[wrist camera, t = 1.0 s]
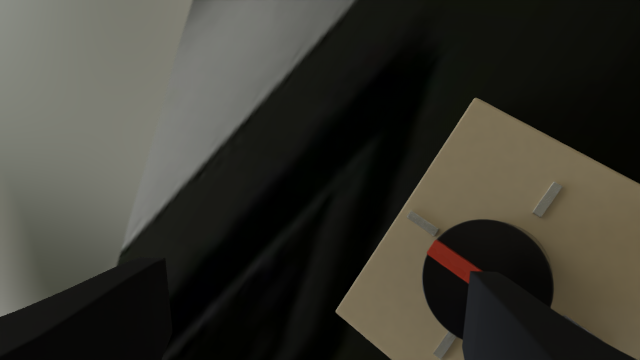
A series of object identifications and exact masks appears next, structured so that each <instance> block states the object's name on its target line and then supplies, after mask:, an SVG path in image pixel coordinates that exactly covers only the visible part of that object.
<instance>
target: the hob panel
mask: <svg viewBox="0 0 640 360" xmlns="http://www.w3.org/2000/svg"><path fill="white" fill-rule="evenodd" d="M476 219H490V220H497V221H502V222H506V223H510V224H513V225H516V226H518V227H520V228H522V229H524V230H526V231H527V232H529V233H530V234H532V235H533V236H534V237H535V238H536V239H537V240H538V241H539V242H540V244H541V245H542V246H543V248H544V249H545V251H546V253H547V255H548V257H549V259H550V262H551V266H552V271H553V280H554V294H553V301H552V305H551V309H553V310H554V311H556V312H557V313H559V314H560V315H562V316H563V317H565V318H566V319H568V320H569V321H571V322H573V323H574V324H576V325H577V326H579V327H580V328H582V329H584V330H585V331H587V332H589V333H590V334H592V335H594V336H595V337H597V338H599V339H600V340H602V341H604V342H605V343H607V344H609V345H611V346H612V347H614V348H616V349H618V350H620V351H622V352H624V353H626V354H627V355H629V356H631V357H633V358H635V359H637V360H640V184H639V183H637V182H635V181H633V180H631V179H629V178H627V177H625V176H623V175H622V174H620V173H618V172H616V171H614V170H612V169H610V168H608V167H606V166H605V165H603V164H601V163H599V162H597V161H595V160H593V159H591V158H589V157H588V156H586V155H584V154H582V153H580V152H578V151H576V150H574V149H572V148H571V147H569V146H567V145H565V144H563V143H561V142H559V141H557V140H555V139H554V138H552V137H550V136H548V135H546V134H544V133H542V132H540V131H538V130H537V129H535V128H533V127H531V126H529V125H527V124H525V123H523V122H521V121H520V120H518V119H516V118H514V117H512V116H510V115H508V114H506V113H504V112H503V111H501V110H499V109H497V108H495V107H493V106H491V105H489V104H487V103H486V102H484V101H482V100H480V99H478V98H475V99H474V100H473V101H472V103H471V104H470V106H469V107H468V109H467V110H466V112H465V113H464V115H463V116H462V118H461V120H460V121H459V123H458V124H457V126H456V127H455V129H454V130H453V132H452V133H451V135H450V136H449V138H448V139H447V141H446V143H445V144H444V146H443V147H442V149H441V150H440V152H439V153H438V155H437V156H436V158H435V159H434V161H433V162H432V164H431V166H430V167H429V169H428V170H427V172H426V173H425V175H424V176H423V178H422V179H421V181H420V182H419V184H418V185H417V187H416V189H415V190H414V192H413V193H412V195H411V196H410V198H409V199H408V201H407V202H406V204H405V205H404V207H403V208H402V210H401V212H400V213H399V215H398V216H397V218H396V219H395V221H394V222H393V224H392V225H391V227H390V228H389V230H388V231H387V233H386V235H385V236H384V238H383V239H382V241H381V242H380V244H379V245H378V247H377V248H376V250H375V251H374V253H373V254H372V256H371V258H370V259H369V261H368V262H367V264H366V265H365V267H364V268H363V270H362V271H361V273H360V274H359V276H358V278H357V279H356V281H355V282H354V284H353V285H352V287H351V288H350V290H349V291H348V293H347V294H346V296H345V297H344V299H343V301H342V302H341V304H340V305H339V307H338V308H337V310H336V313H337V314H339V315H340V316H341V317H342V318H343V319H344V320H346V321H347V322H348V323H349V324H350V325H352V326H353V327H354V328H355V329H356V330H357V331H359V332H360V333H361V334H362V335H363V336H365V337H366V338H367V339H368V340H369V341H370V342H372V343H373V344H374V345H375V346H376V347H378V348H379V349H380V350H381V351H382V352H383V353H385V354H386V355H387V356H388V357H389V358H391V359H392V360H464V355H463V350H462V342H463V340H462V339H460V338H458V337H456V336H455V335H453V334H452V333H450V332H449V331H448V330H446V329H445V328H444V327H443V326H442V325H441V324H440V323H439V322H438V320H437V319H436V318H435V316H434V315H433V314H432V312H431V310H430V308H429V306H428V304H427V302H426V299H425V296H424V292H423V286H422V270H423V265H424V261H425V258H426V255H427V251H428V249H429V248H430V247H431V245H432V244H433V242H434V241H435V240H436V239H437V238H438V237H439V236H440V235H441V234H442V233H444V232H445V231H446V230H448V229H449V228H451V227H453V226H455V225H457V224H459V223H462V222H465V221H469V220H476Z"/></svg>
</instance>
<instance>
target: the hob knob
mask: <svg viewBox="0 0 640 360" xmlns="http://www.w3.org/2000/svg"><path fill="white" fill-rule="evenodd" d="M470 271H485V272H498V273H500V274H502V275H504V276H505V277H507V278H508V279H510V280H511V281H513V282H514V283H516V284H517V285H519V286H520V287H521V288H523V289H524V290H526V291H527V292H529V293H530V294H531V295H533V296H534V297H536V298H537V299H538V300H540V301H541V302H543V303H544V304H546V305H547V306H549V307H550V308H551V305H552V301H553V294H554V280H553V271H552V266H551V262H550V259H549V257H548V255H547V253H546V251H545V249H544V248H543V246H542V245H541V244H540V242H539V241H538V240H537V239H536V238H535V237H534V236H533V235H532V234H530V233H529V232H527V231H526V230H524V229H522V228H520V227H518V226H516V225H513V224H510V223H506V222H502V221H497V220H490V219H476V220H469V221H465V222H462V223H459V224H457V225H455V226H453V227H451V228H449V229H448V230H446V231H445V232H444V233H442V234H441V235H440V236H439V237H438V238H437V239H436V240H435V241H434V242H433V244H432V245H431V247H430V248H429V249H428V251H427V255H426V258H425V261H424V265H423V270H422V286H423V292H424V296H425V299H426V302H427V304H428V306H429V308H430V310H431V312H432V314H433V315H434V316H435V318H436V319H437V320H438V322H439V323H440V324H441V325H442V326H443V327H444V328H445V329H446V330H448V331H449V332H450V333H452V334H453V335H455V336H456V337H458V338H460V339H462V340H463V333H464V323H465V314H466V305H467V296H468V287H469V277H470Z"/></svg>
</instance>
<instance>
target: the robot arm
mask: <svg viewBox="0 0 640 360" xmlns="http://www.w3.org/2000/svg"><path fill="white" fill-rule="evenodd" d="M171 334H172V322H171V312H170V302H169V292H168V282H167V272H166V261H165V258H144V257H140V258H137V259H134V260H131V261H128V262H126V263H124V264H121V265H119V266H117V267H114V268H112V269H110V270H108V271H106V272H103V273H102V274H99V275H97V276H95V277H93V278H90V279H88V280H86V281H84V282H82V283H80V284H78V285H75V286H73V287H71V288H69V289H67V290H65V291H62V292H60V293H58V294H55V295H53V296H51V297H48V298H46V299H44V300H41V301H39V302H37V303H34V304H32V305H30V306H27V307H25V308H22V309H20V310H17V311H15V312H12V313H10V314H7V315H4V316H2V317H0V360H161V359H162V357H163V354H164V352H165V350H166V347H167V345H168V342H169V339H170V337H171ZM462 350H463V355H464V360H637V359H635V358H633V357H631V356H629V355H627V354H626V353H624V352H622V351H620V350H618V349H616V348H614V347H612V346H611V345H609V344H607V343H605V342H604V341H602V340H600V339H599V338H597V337H595V336H594V335H592V334H590V333H589V332H587V331H585V330H584V329H582V328H580V327H579V326H577V325H576V324H574V323H573V322H571V321H569V320H568V319H566V318H565V317H563V316H562V315H560V314H559V313H557V312H556V311H554V310H553V309H551V308H550V307H549V306H547V305H546V304H544V303H543V302H541V301H540V300H538V299H537V298H536V297H534V296H533V295H531V294H530V293H529V292H527V291H526V290H524V289H523V288H521V287H520V286H519V285H517V284H516V283H514V282H513V281H511V280H510V279H508V278H507V277H505V276H504V275H502V274H500V273H498V272H485V271H470V277H469V287H468V296H467V305H466V314H465V323H464V333H463V342H462Z"/></svg>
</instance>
